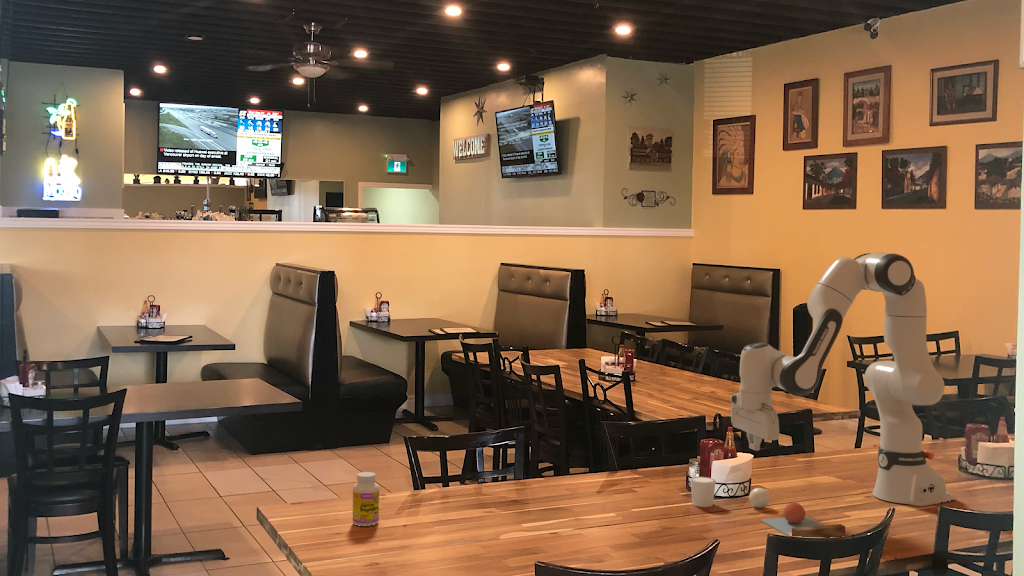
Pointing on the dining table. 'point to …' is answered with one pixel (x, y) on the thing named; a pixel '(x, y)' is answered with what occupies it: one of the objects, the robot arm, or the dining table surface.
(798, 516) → the red ball
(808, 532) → the strip
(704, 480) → the white cup
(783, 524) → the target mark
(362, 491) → the supplement bottle
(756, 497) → the cue ball
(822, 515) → the dining table surface
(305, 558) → the dining table surface
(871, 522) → the dining table surface
